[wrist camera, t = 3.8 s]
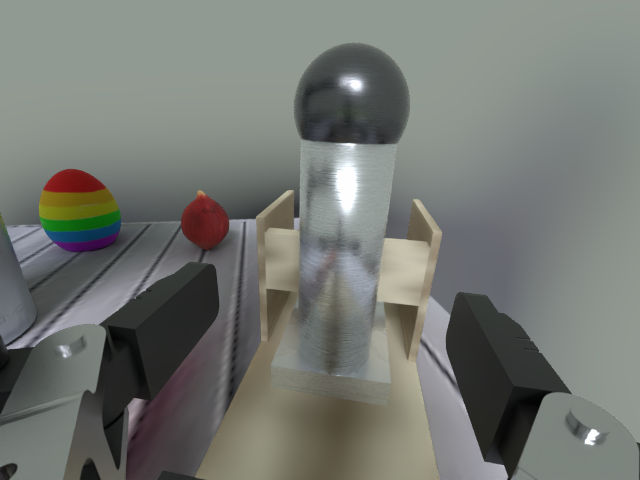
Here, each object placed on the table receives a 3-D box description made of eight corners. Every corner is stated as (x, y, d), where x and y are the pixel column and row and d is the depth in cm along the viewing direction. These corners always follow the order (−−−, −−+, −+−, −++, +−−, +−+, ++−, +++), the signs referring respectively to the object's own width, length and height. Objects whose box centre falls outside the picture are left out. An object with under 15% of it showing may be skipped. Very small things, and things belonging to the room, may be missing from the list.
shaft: (269, 392, 15) (257, 25, 9) (313, 273, 27) (319, 81, 22) (387, 411, 14) (455, 25, 9) (378, 279, 27) (403, 84, 21)
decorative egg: (41, 261, 35) (12, 176, 31) (60, 237, 42) (38, 165, 38) (122, 250, 38) (105, 173, 35) (128, 230, 45) (113, 164, 41)
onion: (234, 241, 43) (231, 187, 40) (224, 258, 37) (219, 197, 34) (194, 240, 42) (187, 185, 39) (177, 257, 37) (168, 195, 34)
